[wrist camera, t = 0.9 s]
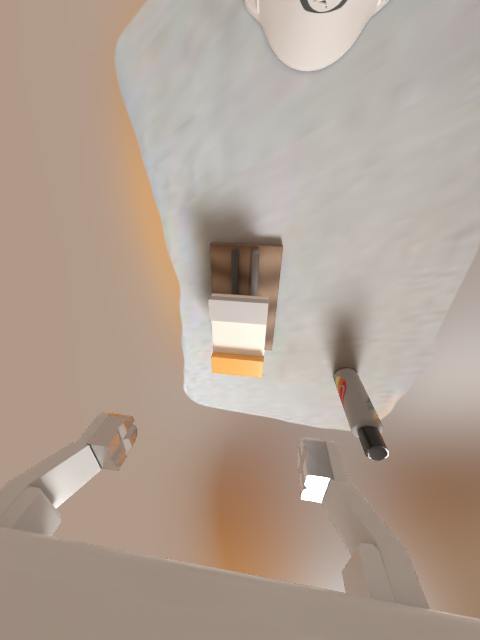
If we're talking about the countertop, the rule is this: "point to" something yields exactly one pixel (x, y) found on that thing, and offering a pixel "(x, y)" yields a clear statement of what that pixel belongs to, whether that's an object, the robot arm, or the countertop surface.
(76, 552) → the robot arm
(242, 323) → the block
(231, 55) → the countertop surface
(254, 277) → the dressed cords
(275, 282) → the mounting board
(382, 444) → the lotion bottle
